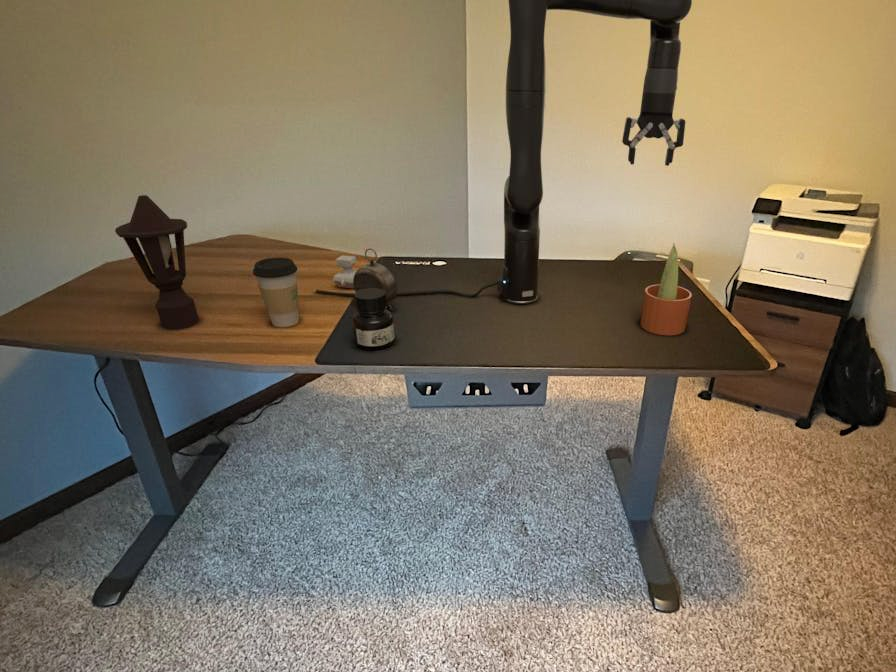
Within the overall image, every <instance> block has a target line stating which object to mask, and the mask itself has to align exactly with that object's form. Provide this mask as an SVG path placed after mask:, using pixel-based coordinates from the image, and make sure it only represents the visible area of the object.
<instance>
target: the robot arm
mask: <svg viewBox="0 0 896 672" xmlns="http://www.w3.org/2000/svg"><path fill="white" fill-rule="evenodd" d="M692 5H693V0H508V11H509V25H510V26H509V27H510V42H509V50H508V57H507V65H506V66H507V67H506V79H505V117H506V128H507V135H508V142H509V149H510V150H509V151H510V153H509V154H510V160H509V161H510V163H509V174H508V177H507V178H506V180H505V183H504V187H503V188H504V189H503V226H504V228H503V229H504V241H503V243H504V252H503V253H504V254H503V256H504V257H503V271H502V272H503V274H498V277H497V281H495V282H492V283H489V284H486V285H484V286H482V287H480V288H479V290H478V291H476V292H475V293H473V294H466V293H462V292H458V291H455V290H449V289H448V290H447V289H446V290H445V289H439V290H438V289H437V290H422V291H421V290H418V291H406V292H405V291H403V292H397V293H396V296H409V295H427V294H428V295H429V294H452V295H453V294H454V295H457V296H459V297H460V296H461V297H466V298H475V297H477V296H478V295H479V294H481V292H482V291H484V290H486V289H488V288H492V287H494V286H496V287H497V292H502V302H505V303H509V304H514V305H529V304H532V303H535V302H537V301H538V294H539V293H538V292H539V291H538V289H539V288H538V286H539V268H540V267H539V266H540V265H539V264H540V263H539V262H540V243H541V242H540V241H541V240H540V239H541V224H540V223H541V222H540V221H541V220H540V205H541V203H542V202H543V198H544V186H543V185H544V184H543V171H542V150H543V149H542V147H543V140H544V139H543V138H544V128H545V118H546V106H547V105H546V100H547V66H546V65H547V64H546V49H545V32H546V31H545V30H546V20H547V11H569V12H570V11H572V12H577V13H578V12H579V13H584V14H591V15H597V16H602V17H607V18H612V19H613V18H614V19H621V20H623V19H624V20H646V21H649V34H650V35H649V38H650V39H649V40H650V41H649V43H650V44H649V49H648V55H647V63H646V71H645V75H644V78H643V79H644V80H643V85H642V95H641V102H640V112H639V115H638V117H630V116H627V117H626V118H625V123H624V128H623V134H622V139H621V140H622V141H621V142H622V144H623V145H624V146H627V147H628V155H627V160H628V162H629V163H630V165H633V166H634V164H635V160H636V158H635V157H636V150H637V148H636V146H637V145H638V144H639V143H640V142H641V141H642V140H643V139H644V138H646V139H652V138H654V139H661V138H663V140H664V141H665V143H666V145H667V148H666V154H665V161H664V165H665V166H668V167H669V166H670V164H672V163H673V160H674V153H675V150H676V149H677V148H681V147H683V145H684V141H685V140H684V139H685V129H686V119H684V118H679V119H674V118H673V117H674V116H673V114H674V109H675V102H676V95H677V90H678V80H679V67H680V61H681V55H682V42H681V40H680V29H681V28H680V27H681V22H682V21H684V19H686V17H688V15H689V13H690V12H691V9H692ZM636 124H637V126H638V128H639V131H637V133H636V134H635V135H634V137H632V139H631V140H630V135H631V129H633V128H634V127H635V125H636ZM673 125H674V129H676V131H677V133H676V141H674V140H673V139H672V137H671V135H670V133H669V131H670V129H671V128H672V127H673ZM315 293H316V294H317V293H319V294H325V295H333V296H344V297H345V296H346V297H354V294H355V293H356V292H352V293H351V292H339V291H329V290H321V289H316V290H315Z"/></svg>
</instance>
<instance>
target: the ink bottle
mask: <svg viewBox="0 0 896 672" xmlns="http://www.w3.org/2000/svg"><path fill="white" fill-rule="evenodd" d="M354 293H355V294H354V296H353V299H354V306H355V310H356V312H355V313H354V314H353V316H352V326H353V334H354V341H355V345H356V346H357V347H359V348H360V349H362V350H367V351H373V350H374V351H375V350H382V349H386V348H388V347H390V346H392V345H393V344H394V343H395V328H394V317H393V314H392V312H391V311H390V310H388V306H387V302H386V292H385V291H384V290H381V289H377V288H367V289H362V290H359V291H357V292H354Z"/></svg>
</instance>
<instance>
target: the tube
mask: <svg viewBox="0 0 896 672" xmlns="http://www.w3.org/2000/svg"><path fill="white" fill-rule="evenodd" d="M679 262H680V261H679V255H678V250H677V248H676V244H675V242H673V244H672V246H671V249H670V251H669V254H668V257H667V259H666V262H665V266H664V268H663V272H662V275H661V279H660V283H659V284H660V287H659V291H658V295H657V298H661V299H666V300H676V295H677V286H679V285H678V284H679V283H678V282H679Z"/></svg>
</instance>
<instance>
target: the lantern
mask: <svg viewBox="0 0 896 672" xmlns="http://www.w3.org/2000/svg"><path fill="white" fill-rule="evenodd" d="M187 228H188V223H187V221H185V220H184V219H182V218H170V217H169V216H168V214H166V213H165V212H164V211H163V209H161V207H160V206H159V205H158V204H156V202H154V200H153V199H151V197H149V195H146V194H143V195H138V197H137V200H136V202H135V206H134V209H133V212H132V215H131V218H130V221H129V222H127V223H124V224H121V225H119V226H117V227H116V228H115V230H114V232H115V234H116V235H117V236H118V237H119V238H123V240H124V242H125V243H126V245H127V248H129V250H130V252H131V253H132V256H133V257H134V259H135V261H136V262H137V264H138V266H139V268H140V270H141V271H142V273H143V275H144V277H145V278H146V280H147V281H148V283H150V284H151V285H154V287H155V288H156V289H157V290H159V291H158V299H157V301H156V302H155V304H154V306H155V309H156V312H157V314H158V315H157V316H158V318H159V322H160V326H161V327H162V328H163V329H166V330H182V329H187V328H190V327H193V326H195V325H197V324H198V323H199V321H200V319H199V314H198V311H197V307H196V303H195V300H194V298H193V297H192V296H190V295H188V293H186V291H185V289H183V287H182V286H183V285H184V280H185V278H186V277H187V270H186V250H185V248H186V247H185V230H186V229H187ZM170 235H174V242H175V249H176V250H175V251H176V258H177V265H178V269H176V266H175V261H174V255H173V250H172V248H173V246H172V242H171V238H170Z"/></svg>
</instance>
